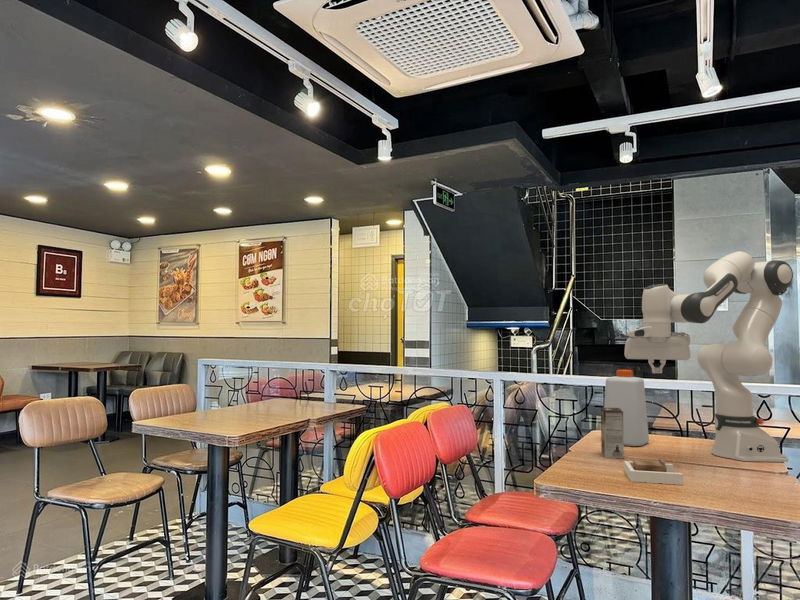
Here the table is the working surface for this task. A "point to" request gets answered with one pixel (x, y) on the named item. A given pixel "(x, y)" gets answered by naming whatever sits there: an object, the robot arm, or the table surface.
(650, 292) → the robot arm
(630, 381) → the plastic bottle
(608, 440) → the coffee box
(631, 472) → the bay
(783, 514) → the table surface
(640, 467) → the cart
